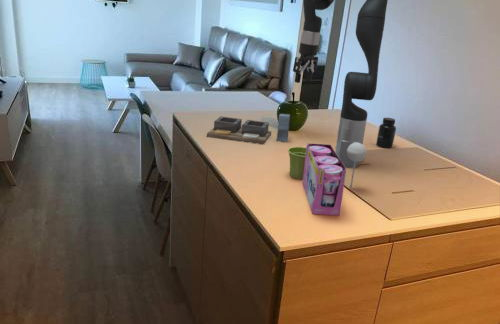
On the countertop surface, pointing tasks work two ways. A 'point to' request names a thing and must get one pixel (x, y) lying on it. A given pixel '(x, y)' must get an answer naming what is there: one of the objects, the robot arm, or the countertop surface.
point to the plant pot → (297, 161)
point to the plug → (283, 127)
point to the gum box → (323, 179)
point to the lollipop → (356, 155)
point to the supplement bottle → (386, 133)
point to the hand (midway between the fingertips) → (302, 81)
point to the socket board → (240, 130)
